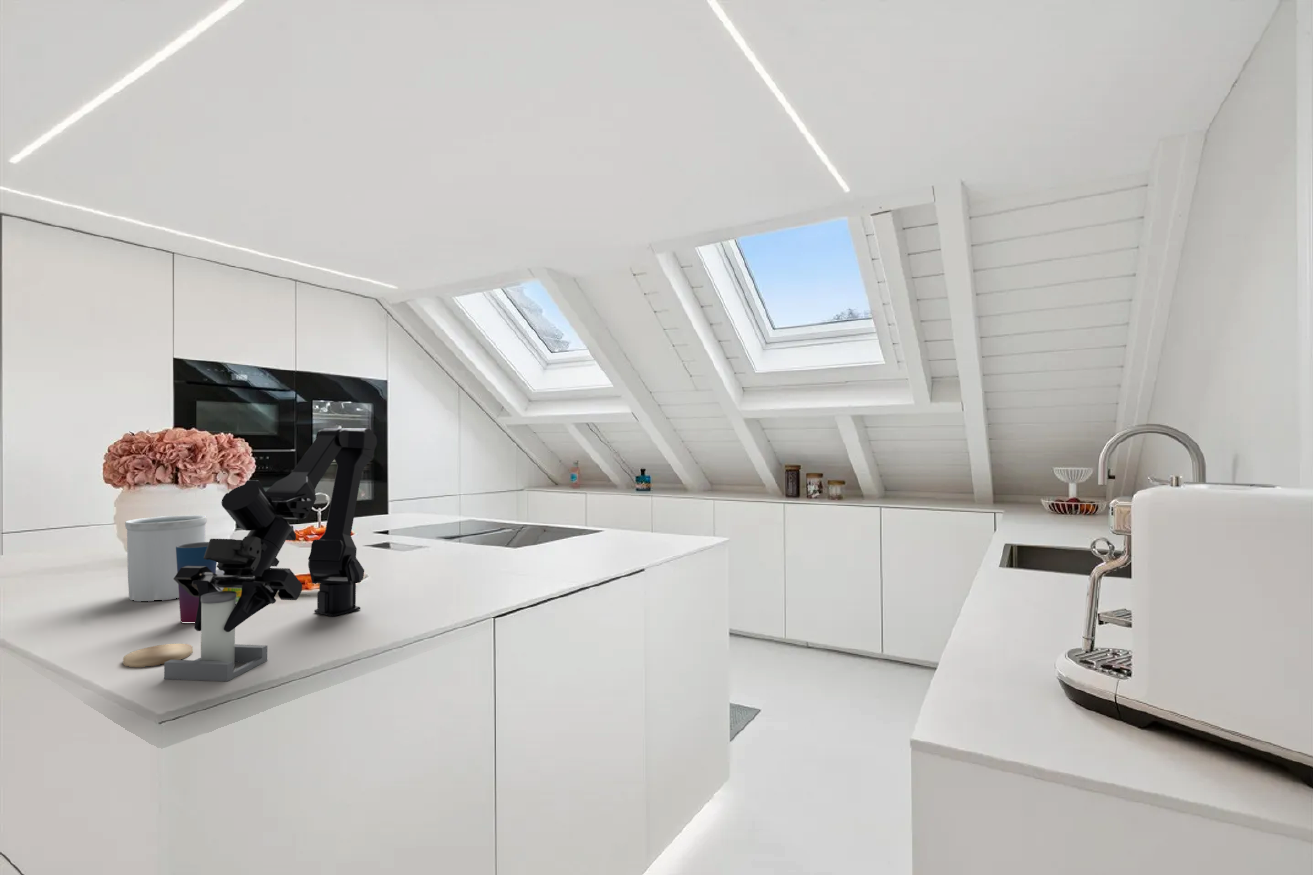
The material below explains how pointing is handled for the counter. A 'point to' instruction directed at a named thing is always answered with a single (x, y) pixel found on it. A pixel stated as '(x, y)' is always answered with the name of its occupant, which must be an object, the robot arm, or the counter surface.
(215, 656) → the white jar with lid
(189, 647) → the coaster
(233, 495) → the robot arm
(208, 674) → the socket frame
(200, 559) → the cup
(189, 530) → the utensil holder
